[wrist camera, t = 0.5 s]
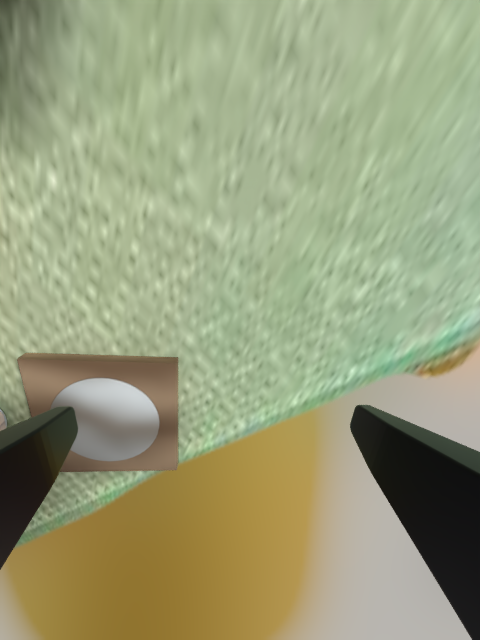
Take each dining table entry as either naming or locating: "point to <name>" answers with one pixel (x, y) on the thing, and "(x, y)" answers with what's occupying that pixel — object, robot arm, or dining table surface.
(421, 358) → the dining table surface
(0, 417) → the beer can
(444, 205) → the dining table surface
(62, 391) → the plate
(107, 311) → the dining table surface
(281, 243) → the dining table surface
